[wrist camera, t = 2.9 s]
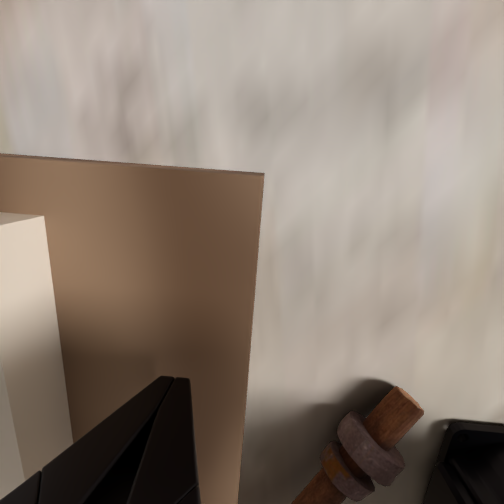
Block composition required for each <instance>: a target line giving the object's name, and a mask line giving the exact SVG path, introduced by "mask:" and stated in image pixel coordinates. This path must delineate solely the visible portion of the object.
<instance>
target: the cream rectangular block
mask: <svg viewBox="0 0 504 504" xmlns="http://www.w3.org/2000/svg"><path fill="white" fill-rule="evenodd" d="M72 444H73V438H72V430H71V422H70V415H69V407H68V399H67V391H66V384H65V376H64V368H63V360H62V352H61V345H60V337H59V329H58V321H57V314H56V306H55V298H54V290H53V283H52V275H51V267H50V259H49V252H48V244H47V236H46V228H45V220H44V216H41V215H28V214H16V213H3V212H0V500H1V499H2V498H3V497H5V496H6V495H7V494H9V493H10V492H11V491H13V490H14V489H15V488H17V487H18V486H19V485H21V484H22V483H23V482H24V481H26V480H27V479H28V478H30V477H31V476H32V475H33V474H35V473H36V472H37V471H39V470H40V471H41V472H42V468H43V467H44V466H45V465H46V464H48V463H49V462H50V461H52V460H53V459H54V458H55V457H57V456H58V455H59V454H61V453H62V452H63V451H64V450H66V449H67V448H68V447H70V446H71V445H72Z"/></svg>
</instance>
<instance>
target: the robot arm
mask: <svg viewBox="0 0 504 504" xmlns="http://www.w3.org/2000/svg"><path fill="white" fill-rule="evenodd" d="M0 504H201V497H200V488H199V476H198V464H197V453H196V441H195V429H194V418H193V406H192V395H191V383H190V379H189V378H184V377H176V378H174V377H173V376H159V377H158V378H157V379H155V380H154V381H153V382H152V383H150V384H149V385H148V386H146V387H145V388H144V389H143V390H141V391H140V392H139V393H137V394H136V395H135V396H134V397H132V398H131V399H130V400H128V401H127V402H126V403H125V404H123V405H122V406H121V407H120V408H118V409H117V410H116V411H114V412H113V413H112V414H111V415H109V416H108V417H107V418H105V419H104V420H103V421H102V422H100V423H99V424H98V425H96V426H95V427H94V428H93V429H91V430H90V431H89V432H87V433H86V434H85V435H84V436H82V437H81V438H80V439H79V440H77V441H76V442H75V443H73V444H72V445H71V446H70V447H68V448H67V449H66V450H64V451H63V452H62V453H61V454H59V455H58V456H57V457H55V458H54V459H53V460H52V461H50V462H49V463H48V464H46V465H45V466H44V467H43V468H42V472H41V471H40V470H39V471H37V472H36V473H35V474H33V475H32V476H31V477H30V478H28V479H27V480H26V481H24V482H23V483H22V484H21V485H19V486H18V487H17V488H15V489H14V490H13V491H11V492H10V493H9V494H7V495H6V496H5V497H3V498H2V499H1V500H0ZM423 504H504V426H494V425H484V424H473V423H463V422H457V423H453V424H451V425H450V426H449V427H448V429H447V431H446V434H445V437H444V440H443V443H442V446H441V450H440V453H439V456H438V459H437V462H436V465H435V468H434V471H433V474H432V477H431V480H430V483H429V486H428V489H427V492H426V496H425V499H424V502H423Z"/></svg>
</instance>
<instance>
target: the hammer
mask: <svg viewBox="0 0 504 504" xmlns="http://www.w3.org/2000/svg"><path fill="white" fill-rule="evenodd" d="M423 415H424V410H423V409H422V408H421V407H420V405H419V404H418V403H417V402H416V401H415V400H414V399H413V398H412V397H411V396H410V395H409V394H408V393H407V392H405V391H404V390H403V389H401V388H399V387H397V386H395V387H394V388H393V389H392V390H391V391H390V392H389V393H388V394H387V395H386V396H385V397H384V398H383V399H382V400H381V401H380V403H379V404H378V405H377V406H376V407H375V408H374V409H373V411H372V412H371V413H370V414H369V415H368V416H367V418H365V417H363V416H362V415H360V414H359V413H357V412H355V411H350V412H349V413H348V414H347V415H346V416H345V417H344V418H343V419H342V420H341V422H340V424H339V426H338V428H337V434H338V437H339V439H340V441H341V443H342V444H341V443H339V442H336V441H331V442H330V443H329V444H328V445H327V446H326V448H325V449H324V450H323V452H322V453H321V455H320V460H321V464H322V466H323V468H322V469H321V470H320V471H319V472H318V473H317V474H316V476H315V477H314V478H313V479H312V480H311V481H310V483H309V484H308V485H307V486H306V487H305V488H304V490H303V491H302V492H301V493H300V494H299V495H298V496H297V497H296V499H295V500H294V501H293V502H292V503H291V504H341V503H342V502H343V501H344V500H345V499H346V497H348V498H350V499H352V500H354V501H360V500H362V499H363V498H365V497H366V496H368V495H369V494H371V493H372V492H374V491H375V487H374V484H373V482H372V479H373V480H375V481H376V482H377V483H379V484H381V485H383V486H390V485H391V484H392V482H393V481H394V479H395V478H396V476H397V475H398V474H399V473H400V472H401V471H402V470H403V469H404V468H405V463H404V460H403V457H402V456H401V454H400V453H399V451H398V450H397V448H396V447H395V446H394V445H395V444H396V443H397V442H398V441H399V440H400V439H401V438H402V437H403V436H404V435H405V434H406V433H407V432H408V431H409V429H410V428H411V427H412V426H413V425H414V424H415V423H416V422H417V421H418V420H419V419H420V418H421V417H422V416H423ZM371 478H372V479H371Z"/></svg>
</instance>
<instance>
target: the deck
mask: <svg viewBox="0 0 504 504" xmlns="http://www.w3.org/2000/svg"><path fill="white" fill-rule="evenodd" d="M263 186H264V173H255V172H242V171H228V170H215V169H202V168H188V167H175V166H161V165H148V164H135V163H121V162H108V161H94V160H81V159H68V158H54V157H41V156H27V155H14V154H1V153H0V212H3V213H16V214H28V215H41V216H44V220H45V228H46V236H47V244H48V252H49V259H50V267H51V275H52V283H53V290H54V298H55V306H56V314H57V321H58V329H59V337H60V345H61V352H62V360H63V368H64V376H65V384H66V391H67V399H68V407H69V415H70V422H71V430H72V438H73V443H75V442H76V441H77V440H79V439H80V438H81V437H82V436H84V435H85V434H86V433H87V432H89V431H90V430H91V429H93V428H94V427H95V426H96V425H98V424H99V423H100V422H102V421H103V420H104V419H105V418H107V417H108V416H109V415H111V414H112V413H113V412H114V411H116V410H117V409H118V408H120V407H121V406H122V405H123V404H125V403H126V402H127V401H128V400H130V399H131V398H132V397H134V396H135V395H136V394H137V393H139V392H140V391H141V390H143V389H144V388H145V387H146V386H148V385H149V384H150V383H152V382H153V381H154V380H155V379H157V378H158V377H159V376H173V377H174V378H176V377H184V378H189V379H190V383H191V395H192V406H193V418H194V429H195V441H196V453H197V464H198V476H199V488H200V497H201V504H237V503H238V492H239V480H240V469H241V457H242V445H243V434H244V422H245V410H246V397H247V385H248V372H249V360H250V348H251V335H252V323H253V310H254V298H255V285H256V273H257V260H258V248H259V235H260V223H261V210H262V198H263Z"/></svg>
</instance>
